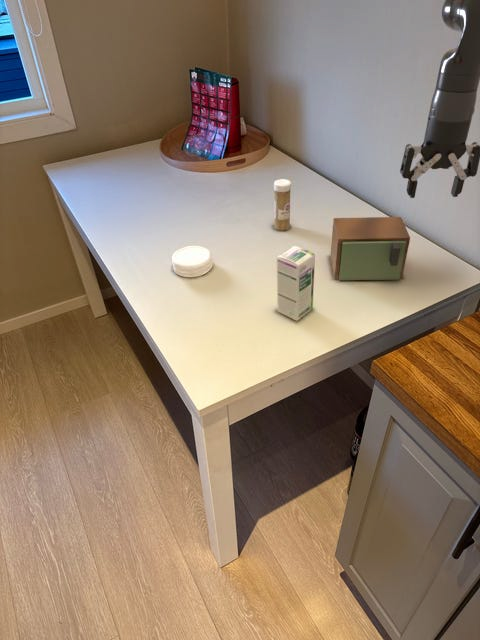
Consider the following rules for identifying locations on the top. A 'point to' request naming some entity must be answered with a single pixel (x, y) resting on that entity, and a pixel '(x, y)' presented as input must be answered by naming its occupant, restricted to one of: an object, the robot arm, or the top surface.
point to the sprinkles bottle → (282, 204)
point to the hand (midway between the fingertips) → (432, 195)
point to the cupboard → (366, 235)
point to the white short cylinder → (192, 261)
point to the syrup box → (295, 282)
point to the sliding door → (372, 260)
